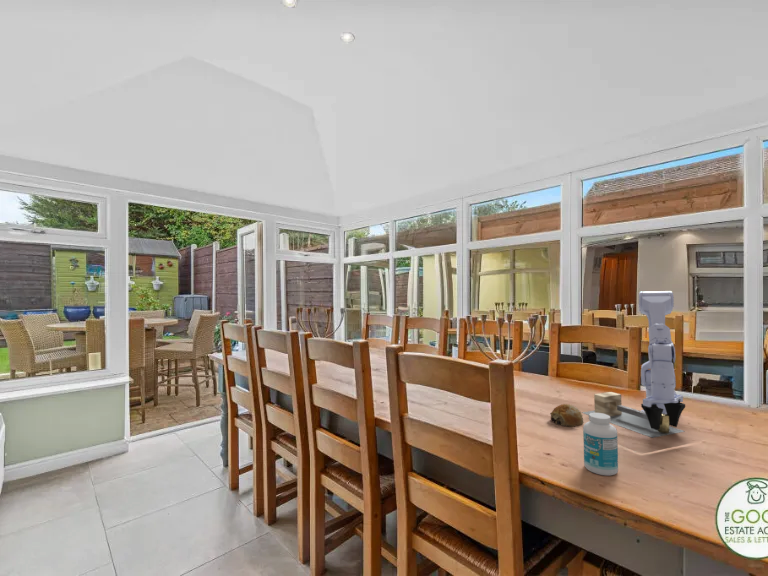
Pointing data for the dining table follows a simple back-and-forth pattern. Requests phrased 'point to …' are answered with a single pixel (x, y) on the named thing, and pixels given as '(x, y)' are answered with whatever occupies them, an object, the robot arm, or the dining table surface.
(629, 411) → the hook rod
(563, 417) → the bread roll
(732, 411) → the dining table surface
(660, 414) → the robot arm
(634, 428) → the base board
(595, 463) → the pill bottle
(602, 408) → the eye block
